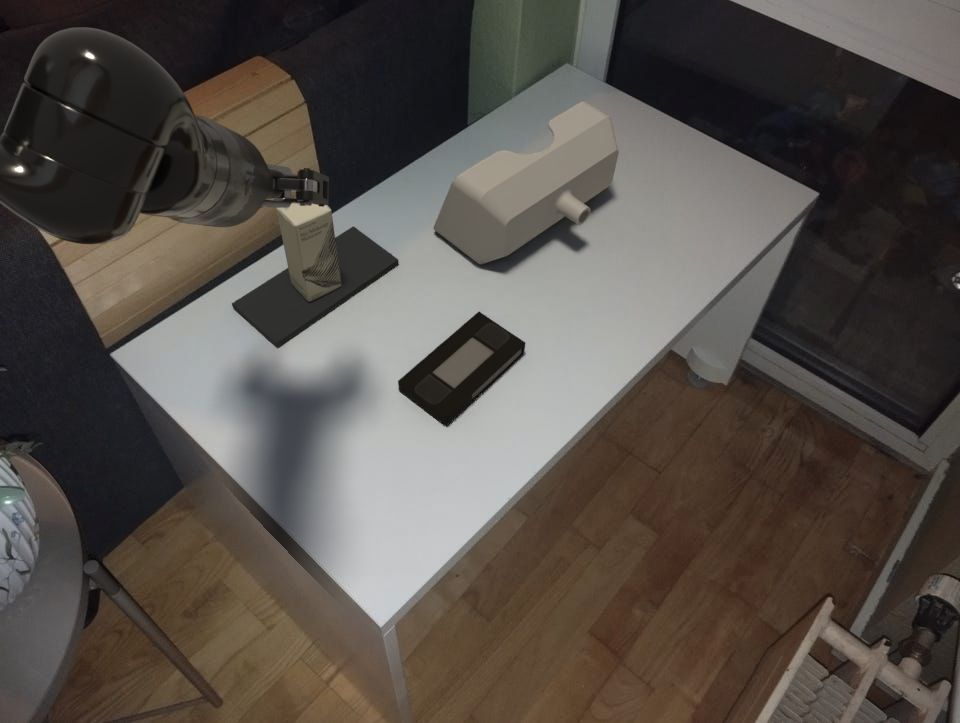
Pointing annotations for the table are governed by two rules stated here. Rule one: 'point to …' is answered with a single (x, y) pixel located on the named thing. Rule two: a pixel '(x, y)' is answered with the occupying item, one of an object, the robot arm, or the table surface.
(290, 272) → the box
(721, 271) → the table surface
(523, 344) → the vhs tape
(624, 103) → the table surface
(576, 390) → the table surface
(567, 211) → the tank
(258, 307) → the scrub mat
